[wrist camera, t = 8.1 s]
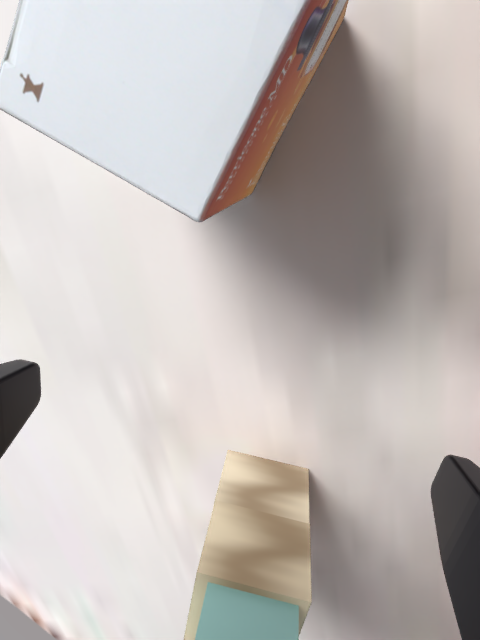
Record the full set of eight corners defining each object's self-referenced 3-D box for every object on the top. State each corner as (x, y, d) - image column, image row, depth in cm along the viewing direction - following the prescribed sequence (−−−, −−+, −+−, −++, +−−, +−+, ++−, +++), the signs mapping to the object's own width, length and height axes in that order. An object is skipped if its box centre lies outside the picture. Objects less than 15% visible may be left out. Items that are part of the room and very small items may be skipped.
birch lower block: (308, 468, 24) (309, 523, 21) (290, 527, 26) (288, 587, 23) (228, 449, 25) (214, 500, 21) (216, 508, 27) (202, 564, 23)
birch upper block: (309, 523, 21) (311, 602, 17) (288, 587, 23) (285, 670, 19) (215, 500, 21) (197, 572, 17) (202, 564, 23) (183, 641, 19)
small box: (251, 197, 19) (197, 235, 9) (146, 134, 19) (-20, 109, 9) (350, 13, 16) (422, -210, 6) (227, -66, 16) (103, -428, 6)
